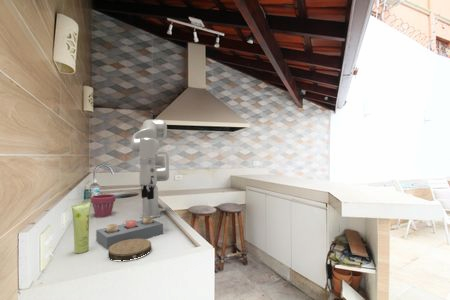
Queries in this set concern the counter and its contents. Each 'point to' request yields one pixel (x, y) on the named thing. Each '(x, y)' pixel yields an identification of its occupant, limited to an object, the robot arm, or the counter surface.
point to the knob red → (130, 224)
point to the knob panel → (129, 233)
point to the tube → (81, 226)
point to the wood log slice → (129, 249)
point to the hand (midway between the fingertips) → (147, 197)
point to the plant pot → (103, 204)
